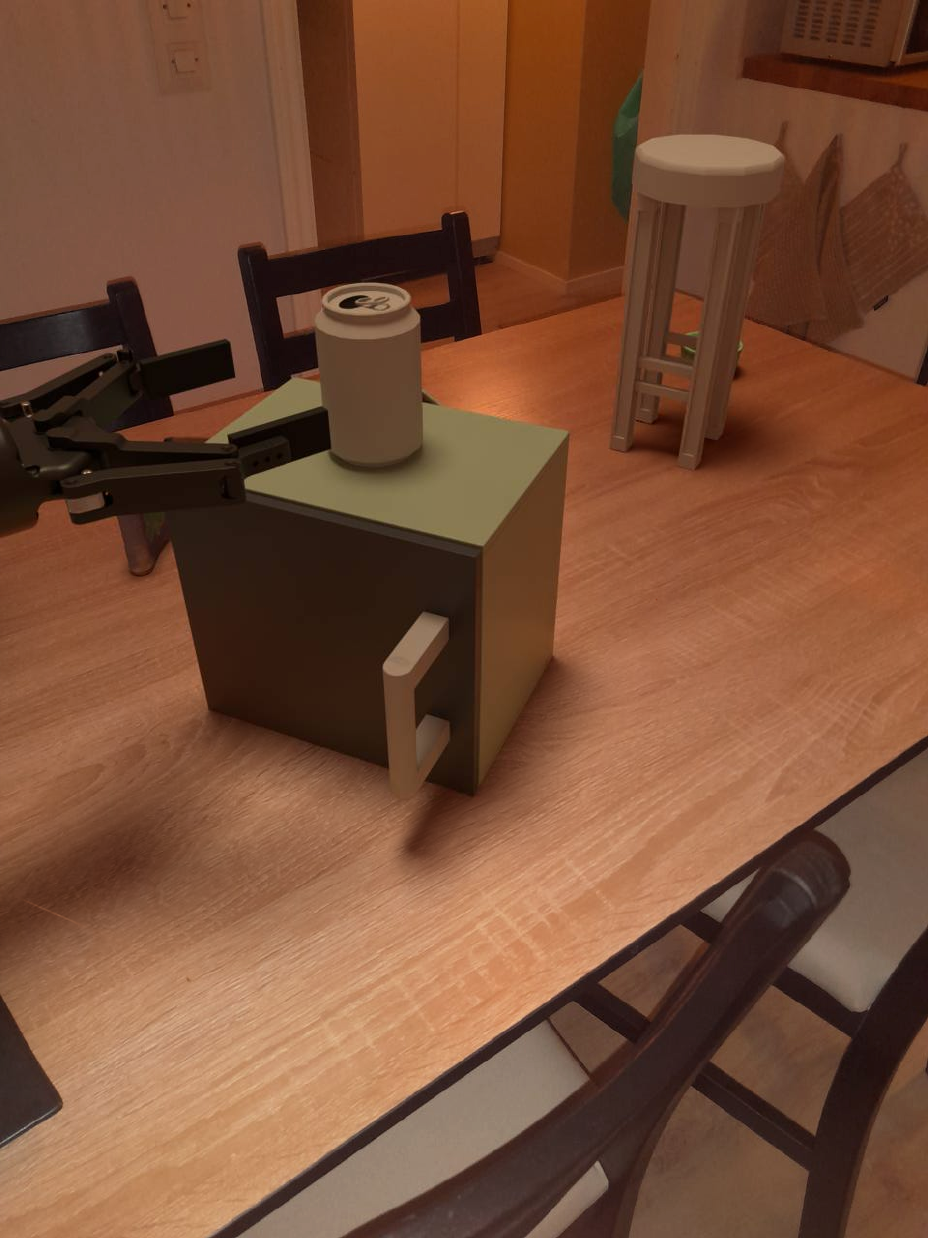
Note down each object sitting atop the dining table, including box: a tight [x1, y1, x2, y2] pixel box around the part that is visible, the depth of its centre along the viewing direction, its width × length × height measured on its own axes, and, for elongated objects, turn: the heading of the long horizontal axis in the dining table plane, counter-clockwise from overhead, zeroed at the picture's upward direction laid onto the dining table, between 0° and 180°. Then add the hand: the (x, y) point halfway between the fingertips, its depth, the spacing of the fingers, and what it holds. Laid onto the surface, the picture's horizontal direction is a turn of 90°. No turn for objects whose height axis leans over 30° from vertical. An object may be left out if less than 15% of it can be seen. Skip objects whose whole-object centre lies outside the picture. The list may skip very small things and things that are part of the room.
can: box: [313, 282, 423, 468], centre depth 71 cm, size 8×8×12 cm
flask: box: [116, 512, 171, 577], centre depth 102 cm, size 9×3×11 cm, turn 173°
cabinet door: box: [165, 492, 482, 800], centre depth 72 cm, size 8×26×23 cm, turn 67°
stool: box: [609, 133, 786, 471], centre depth 115 cm, size 16×16×35 cm
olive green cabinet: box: [205, 376, 571, 787], centre depth 82 cm, size 18×26×24 cm
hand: (276, 390), depth 66 cm, fingers open, 13 cm apart
